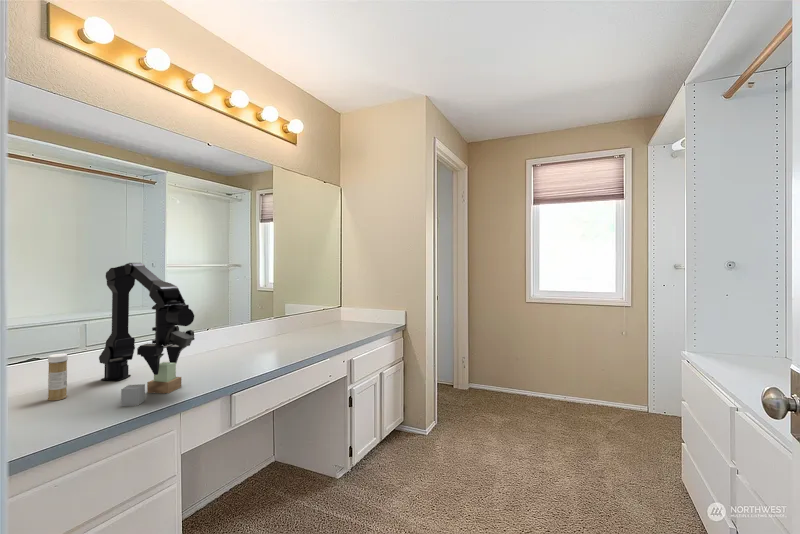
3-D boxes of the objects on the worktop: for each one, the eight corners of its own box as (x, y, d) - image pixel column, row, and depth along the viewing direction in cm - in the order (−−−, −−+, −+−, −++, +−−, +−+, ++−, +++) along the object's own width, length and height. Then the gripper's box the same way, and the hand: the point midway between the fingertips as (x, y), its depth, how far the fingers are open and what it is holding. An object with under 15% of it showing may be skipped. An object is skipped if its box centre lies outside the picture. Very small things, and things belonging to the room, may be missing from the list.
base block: (147, 392, 130) (147, 381, 130) (161, 386, 137) (161, 375, 137) (168, 393, 130) (168, 382, 130) (181, 387, 137) (181, 376, 137)
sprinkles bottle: (54, 396, 126) (55, 353, 125) (70, 396, 126) (71, 352, 126) (43, 401, 121) (43, 356, 121) (59, 401, 121) (60, 356, 121)
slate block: (121, 406, 118) (121, 389, 118) (128, 401, 123) (128, 384, 122) (138, 405, 119) (138, 388, 119) (144, 400, 123) (144, 384, 123)
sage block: (153, 380, 132) (153, 365, 132) (162, 377, 136) (163, 362, 136) (166, 381, 131) (167, 366, 131) (175, 377, 136) (175, 362, 136)
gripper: (171, 328, 124) (170, 380, 124) (204, 320, 142) (204, 364, 142) (136, 327, 124) (135, 378, 125) (174, 319, 143) (173, 363, 143)
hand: (164, 371), depth 134 cm, fingers open, 8 cm apart
